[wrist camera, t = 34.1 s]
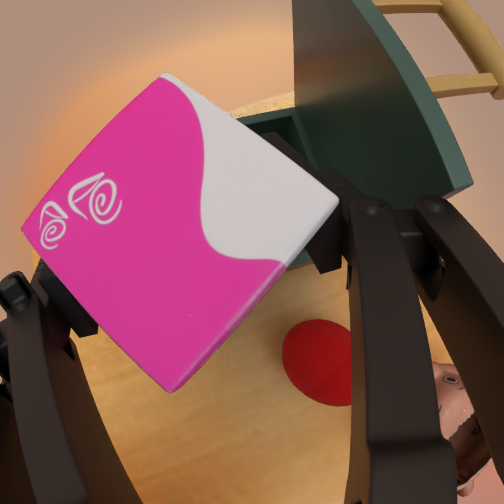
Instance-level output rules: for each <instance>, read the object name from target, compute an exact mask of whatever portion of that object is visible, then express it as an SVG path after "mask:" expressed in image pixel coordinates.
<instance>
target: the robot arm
mask: <svg viewBox="0 0 504 504" xmlns="http://www.w3.org/2000/svg"><path fill="white" fill-rule="evenodd" d="M259 136H260V137H262V138H263V139H264V140H266V141H267V142H268V143H270V144H271V145H272V146H274V147H275V148H276V149H278V150H279V151H280V152H282V153H283V154H284V155H286V156H287V157H288V158H289V159H291V160H292V161H293V162H295V163H296V164H297V165H299V166H300V167H301V168H302V169H304V170H305V171H306V172H307V173H309V174H310V175H311V176H313V177H314V178H315V179H316V180H318V181H319V182H320V183H321V184H323V185H324V186H325V187H326V188H327V189H328V190H330V191H331V192H332V193H334V194H335V195H336V196H337V197H338V198H339V203H338V205H337V206H336V208H335V209H334V211H333V212H332V213H331V214H330V216H329V217H328V218H327V220H326V221H325V222H324V223H323V225H322V226H321V227H320V228H319V230H318V231H317V232H316V233H315V234H314V236H313V237H312V238H311V239H310V241H309V242H308V243H307V244H306V246H305V247H304V248H305V249H306V251H307V253H308V254H309V256H310V258H311V259H312V261H313V263H314V264H315V266H316V268H317V269H318V271H319V273H320V274H323V273H326V272H330V271H333V270H336V269H339V268H341V265H342V255H343V257H344V258H345V259H346V261H347V262H348V269H347V286H346V289H348V290H349V307H350V329H351V366H352V407H351V442H350V462H349V474H348V480H347V485H346V491H345V500H344V504H457V467H456V458H455V451H454V449H453V446H452V444H451V442H449V441H448V440H447V439H445V438H444V437H443V435H442V432H441V426H440V416H439V407H438V399H437V391H436V384H435V378H434V371H433V365H432V359H431V354H430V348H429V343H428V338H427V333H426V328H425V323H424V319H423V314H422V310H421V306H420V302H419V297H420V299H421V300H422V302H423V304H424V306H425V308H426V310H427V311H428V313H429V315H430V317H431V319H432V321H433V323H434V325H435V327H436V329H437V331H438V332H439V334H440V336H441V338H442V340H443V342H444V344H445V346H446V349H447V351H448V353H449V355H450V357H451V359H452V361H453V363H454V365H455V367H456V370H457V372H458V374H459V376H460V379H461V381H462V383H463V385H464V388H465V390H466V392H467V395H468V397H469V399H470V402H471V404H472V407H473V409H474V412H475V414H476V417H477V419H478V422H479V424H480V427H481V430H482V432H483V435H484V438H485V440H486V443H487V446H488V449H489V452H490V455H491V458H492V460H493V463H494V465H495V468H496V471H497V473H498V475H499V477H500V478H501V480H502V483H503V485H504V263H503V262H502V261H501V259H500V258H499V257H498V256H497V255H496V253H495V252H494V251H493V250H492V249H491V247H490V246H489V245H488V244H487V243H486V241H485V240H484V239H483V238H482V237H481V236H480V235H479V233H478V232H477V231H476V230H475V229H474V228H473V227H472V226H471V225H470V223H469V222H467V220H466V219H465V218H464V217H463V216H462V215H461V214H460V213H459V212H458V211H457V209H456V208H455V207H454V206H453V205H452V204H451V203H449V202H448V201H447V200H446V199H443V198H441V197H439V196H436V195H435V196H434V195H422V196H419V197H418V198H416V199H415V203H414V209H406V210H393V209H392V207H391V206H390V204H389V203H388V202H386V201H385V200H383V199H380V198H377V197H366V196H365V195H364V194H362V193H361V192H360V191H359V190H358V189H357V188H356V187H355V186H354V185H353V184H351V183H350V182H349V181H348V180H347V179H345V177H344V176H343V175H342V174H340V173H339V172H338V171H336V170H333V169H331V168H328V167H327V168H322V169H318V170H316V169H315V168H314V167H313V166H312V165H311V164H309V163H308V162H307V161H306V160H305V159H304V158H303V157H302V156H301V155H300V154H299V153H298V152H297V151H296V150H295V149H294V148H293V147H291V146H290V145H289V144H288V143H287V142H286V141H285V140H284V139H283V138H282V137H281V136H279V135H278V134H277V133H276V132H271V133H266V134H261V135H259ZM442 259H443V260H442ZM443 261H444V262H443ZM35 272H36V273H34V275H33V278H32V280H31V283H29V282H28V280H27V279H26V277H25V276H24V274H23V273H22V272H20V271H16V272H13V273H11V274H9V275H8V276H6V277H5V278H4V279H2V281H1V282H0V305H1V306H2V307H3V309H4V310H5V311H6V313H7V318H6V319H4V320H3V321H1V322H0V376H1V377H2V383H1V384H0V504H143V503H142V501H141V499H140V497H139V495H138V494H137V492H136V490H135V488H134V486H133V485H132V483H131V481H130V479H129V477H128V475H127V473H126V471H125V469H124V467H123V465H122V463H121V461H120V459H119V457H118V455H117V453H116V451H115V449H114V446H113V444H112V442H111V440H110V438H109V435H108V433H107V431H106V428H105V426H104V424H103V421H102V419H101V416H100V414H99V411H98V409H97V406H96V404H95V401H94V398H93V396H92V393H91V390H90V388H89V385H88V382H87V379H86V376H85V373H84V370H83V367H82V364H81V361H80V358H79V355H78V351H77V348H76V345H75V343H74V342H73V341H72V339H71V338H70V337H69V335H70V330H71V328H72V329H73V330H74V332H75V333H76V334H77V335H78V337H79V338H81V337H86V336H90V335H95V334H97V333H98V324H97V323H96V322H95V320H94V319H93V318H92V317H91V316H90V315H89V314H88V313H87V311H86V310H85V309H84V308H83V307H82V306H81V305H80V303H79V302H78V301H77V300H76V299H75V297H74V296H73V295H72V294H71V293H70V291H69V290H68V289H67V288H66V286H65V285H64V284H63V283H62V282H61V280H60V279H59V278H58V277H57V276H56V275H55V273H54V272H53V271H52V270H51V269H50V268H49V266H48V265H47V264H46V263H45V262H44V260H43V259H42V258H41V259H40V261H39V263H38V266H37V268H36V271H35ZM418 295H419V297H418Z"/></svg>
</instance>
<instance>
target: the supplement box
mask: <svg viewBox="0 0 504 504" xmlns="http://www.w3.org/2000/svg"><path fill="white" fill-rule="evenodd" d="M338 203H339V198H338V197H337V196H336V195H335V194H334V193H332V192H331V191H330V190H328V189H327V188H326V187H325V186H324V185H323V184H321V183H320V182H319V181H318V180H316V179H315V178H314V177H313V176H311V175H310V174H309V173H307V172H306V171H305V170H304V169H302V168H301V167H300V166H299V165H297V164H296V163H295V162H293V161H292V160H291V159H289V158H288V157H287V156H286V155H284V154H283V153H282V152H280V151H279V150H278V149H276V148H275V147H274V146H272V145H271V144H270V143H268V142H267V141H266V140H264V139H263V138H262V137H260V136H259V135H257V134H256V133H255V132H253V131H252V130H250V129H249V128H248V127H246V126H245V125H243V124H242V123H241V122H239V121H238V120H236V119H235V118H234V117H232V116H231V115H230V114H228V113H227V112H225V111H224V110H222V109H221V108H220V107H218V106H217V105H215V104H214V103H212V102H211V101H210V100H208V99H207V98H205V97H204V96H202V95H201V94H200V93H198V92H197V91H195V90H194V89H192V88H191V87H189V86H188V85H186V84H185V83H183V82H182V81H180V80H178V79H177V78H175V77H174V76H172V75H171V74H169V73H167V72H166V73H163V74H162V75H161V76H160V77H158V78H157V79H156V80H155V81H154V82H153V83H151V84H150V85H149V86H148V87H147V88H146V89H144V90H143V91H142V92H141V93H140V94H139V95H138V96H137V97H136V98H134V99H133V100H132V101H131V102H130V103H129V104H128V105H127V106H126V107H125V108H124V109H123V110H122V111H121V112H119V113H118V114H117V115H116V116H115V117H114V118H113V119H112V120H111V121H110V122H109V124H107V125H106V126H105V127H104V128H103V129H102V130H101V131H100V133H99V134H98V135H97V136H96V137H95V138H94V139H93V140H92V141H91V142H90V143H89V144H88V145H87V146H86V147H85V149H84V150H83V151H82V152H81V153H80V154H79V155H78V156H77V158H76V159H75V160H74V161H73V162H72V163H71V164H70V165H69V166H68V168H67V169H66V170H65V171H64V173H63V174H62V175H61V176H60V177H59V178H58V180H57V181H56V182H55V183H54V184H53V186H52V187H51V188H50V189H49V191H48V192H47V193H46V194H45V196H44V197H43V198H42V200H41V201H40V202H39V203H38V205H37V206H36V208H35V209H34V210H33V212H32V213H31V214H30V216H29V217H28V219H27V220H26V221H25V223H24V224H23V226H22V227H21V230H22V232H23V233H24V235H25V236H26V238H27V239H28V241H29V242H30V243H31V245H32V246H33V247H34V249H35V250H36V251H37V253H38V254H39V255H40V257H41V258H42V259H43V260H44V262H45V263H46V264H47V265H48V266H49V268H50V269H51V270H52V271H53V272H54V273H55V275H56V276H57V277H58V278H59V279H60V280H61V282H62V283H63V284H64V285H65V286H66V288H67V289H68V290H69V291H70V293H71V294H72V295H73V296H74V297H75V299H76V300H77V301H78V302H79V303H80V305H81V306H82V307H83V308H84V309H85V310H86V311H87V313H88V314H89V315H90V316H91V317H92V318H93V319H94V320H95V322H96V323H97V324H98V325H99V326H100V327H101V328H102V329H103V330H104V331H105V332H106V333H107V334H108V335H109V336H110V338H111V339H112V340H113V341H114V342H115V343H116V344H117V345H118V346H119V347H120V348H121V349H122V350H123V351H124V352H125V353H126V354H127V355H128V356H129V357H130V358H131V359H132V360H133V361H134V362H135V363H136V364H137V365H138V366H139V367H140V368H141V369H142V370H143V371H144V372H146V373H147V374H148V375H149V376H150V377H151V378H152V379H153V380H154V381H155V382H156V383H158V384H159V385H160V386H161V387H162V388H163V389H164V390H165V391H166V392H168V393H173V392H175V391H176V390H178V389H179V388H181V387H182V386H183V385H184V384H185V383H186V382H187V381H188V380H189V379H190V378H191V377H192V376H193V375H194V374H195V373H196V372H197V371H198V370H199V369H200V368H201V367H202V365H203V364H204V363H205V362H206V361H207V360H208V359H209V358H210V357H211V356H212V355H213V353H214V352H215V351H216V350H217V349H218V348H219V347H220V346H221V345H222V343H223V342H224V341H225V340H226V339H227V338H228V337H229V336H230V335H231V333H232V332H233V331H234V330H235V329H236V328H237V327H238V325H239V324H240V323H241V322H242V321H243V320H244V319H245V317H246V316H247V315H248V314H249V313H250V312H251V311H252V309H253V308H254V307H255V306H256V305H257V304H258V302H259V301H260V300H261V299H262V298H263V296H264V295H265V294H266V293H267V292H268V291H269V289H270V288H271V287H272V286H273V285H274V283H275V282H276V281H277V280H278V279H279V277H280V276H281V275H282V274H283V272H284V271H285V270H286V269H287V268H288V266H289V265H290V264H291V263H292V261H293V260H294V259H295V258H296V257H297V255H298V254H299V253H300V252H301V250H302V249H303V248H304V247H305V246H306V244H307V243H308V242H309V241H310V239H311V238H312V237H313V236H314V234H315V233H316V232H317V231H318V230H319V228H320V227H321V226H322V225H323V223H324V222H325V221H326V220H327V218H328V217H329V216H330V214H331V213H332V212H333V211H334V209H335V208H336V206H337V205H338Z"/></svg>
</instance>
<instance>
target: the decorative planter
mask: <svg viewBox="0 0 504 504" xmlns="http://www.w3.org/2000/svg"><path fill="white" fill-rule="evenodd" d="M432 365H433V371H434V378H435V384H436V391H437V399H438V407H439V416H440V426H441V432H442V435H443V437H444V438H445V439H447V440H448V441H449V442H451V444H452V446H453V449H454V451H455V458H456V467H457V494H458V495H460V496H462V497H464V496H467V495H469V494H470V493H471V492H472V489H473V485H474V479H475V478H476V477H477V476H478V475H479V474H480V473H481V472H482V471H483V470H484V469H485V468H486V466H487V465H488V464H489V463H490V461H491V460H492V458H491V455H490V452H489V449H488V446H487V443H486V440H485V438H484V435H483V432H482V430H481V427H480V424H479V422H478V419H477V417H476V414H475V412H474V409H473V407H472V404H471V402H470V399H469V397H468V395H467V392H466V390H465V388H464V385H463V383H462V381H461V379H460V376H459V374H458V372H457V370H456V367H455V365H454V364H438V363H435V362H433V361H432Z"/></svg>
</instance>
